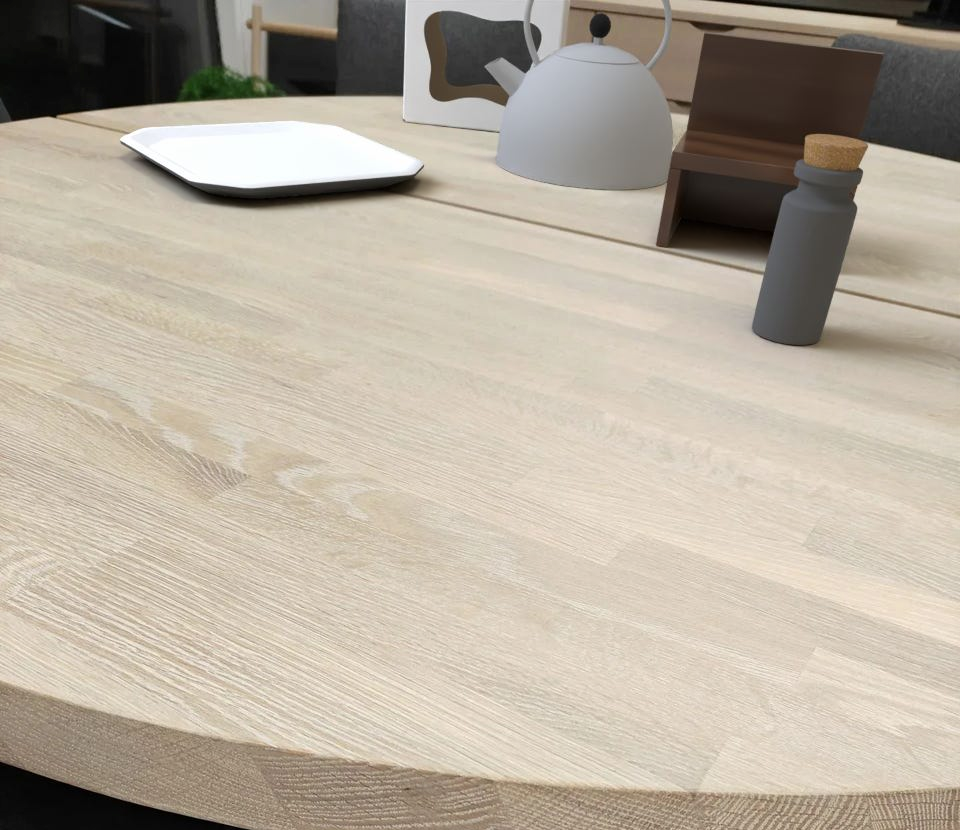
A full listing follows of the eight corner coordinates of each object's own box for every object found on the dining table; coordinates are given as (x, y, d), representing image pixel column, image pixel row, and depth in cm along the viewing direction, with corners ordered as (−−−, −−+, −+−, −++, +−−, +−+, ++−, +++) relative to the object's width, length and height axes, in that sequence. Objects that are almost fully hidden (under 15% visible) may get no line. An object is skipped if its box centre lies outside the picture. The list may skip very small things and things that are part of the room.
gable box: (400, 121, 145) (406, -120, 128) (417, 106, 155) (425, -118, 138) (552, 138, 144) (578, -103, 127) (558, 122, 154) (583, -103, 137)
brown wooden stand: (671, 214, 114) (705, 31, 103) (831, 238, 111) (883, 52, 100) (655, 245, 103) (691, 45, 92) (832, 273, 100) (890, 69, 89)
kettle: (481, 180, 120) (497, -46, 106) (475, 141, 138) (488, -57, 124) (684, 195, 122) (725, -25, 108) (652, 154, 140) (684, -39, 126)
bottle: (825, 330, 86) (880, 140, 77) (814, 351, 82) (871, 152, 73) (758, 316, 88) (805, 128, 79) (744, 335, 83) (791, 139, 74)
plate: (209, 212, 100) (207, 189, 99) (107, 149, 118) (104, 128, 117) (445, 190, 115) (446, 169, 114) (322, 137, 133) (322, 118, 131)
